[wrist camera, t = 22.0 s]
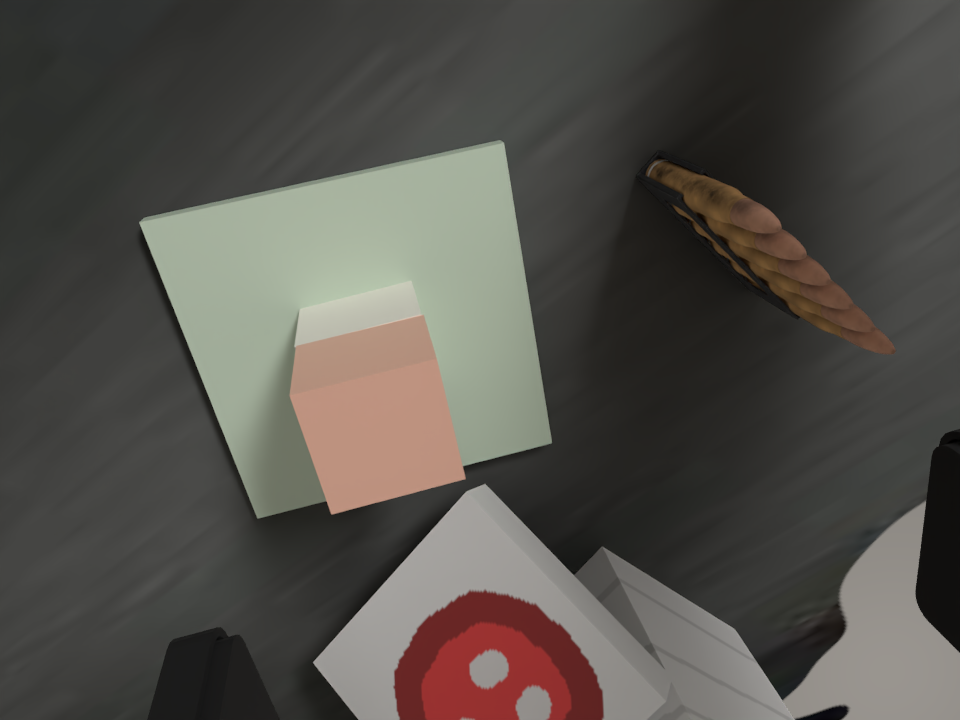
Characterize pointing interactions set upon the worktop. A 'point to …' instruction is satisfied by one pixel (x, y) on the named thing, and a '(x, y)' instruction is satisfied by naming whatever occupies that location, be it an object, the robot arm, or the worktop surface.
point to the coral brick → (375, 414)
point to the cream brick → (357, 313)
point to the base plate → (350, 271)
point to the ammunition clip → (758, 249)
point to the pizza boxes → (536, 637)
